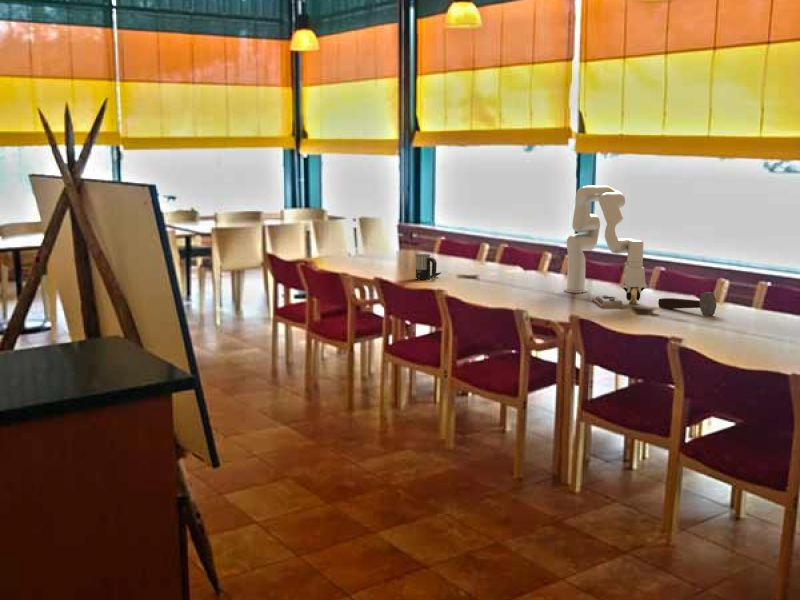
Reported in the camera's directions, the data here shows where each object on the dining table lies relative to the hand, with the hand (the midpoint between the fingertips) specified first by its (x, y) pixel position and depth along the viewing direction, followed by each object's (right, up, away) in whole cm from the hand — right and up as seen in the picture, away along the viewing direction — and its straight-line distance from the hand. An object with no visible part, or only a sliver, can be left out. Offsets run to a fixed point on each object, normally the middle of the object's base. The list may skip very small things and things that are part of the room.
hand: (633, 299), depth 437 cm
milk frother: (-102, +13, +80) cm, 130 cm away
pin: (0, -2, 0) cm, 2 cm away
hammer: (+20, -6, -21) cm, 29 cm away
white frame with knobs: (-13, -2, -2) cm, 13 cm away
